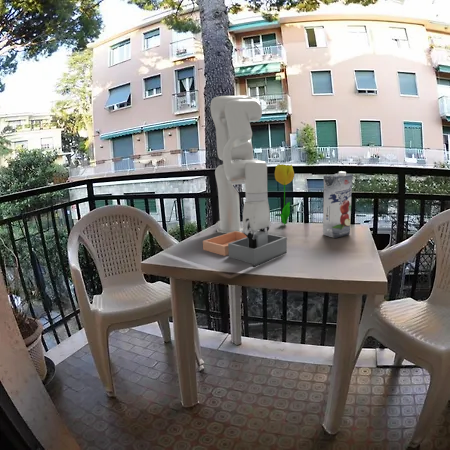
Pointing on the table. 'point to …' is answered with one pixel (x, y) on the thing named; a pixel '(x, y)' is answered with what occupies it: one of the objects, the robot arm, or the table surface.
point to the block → (260, 238)
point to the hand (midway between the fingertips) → (257, 246)
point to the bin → (258, 250)
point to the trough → (222, 242)
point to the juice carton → (337, 204)
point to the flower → (284, 176)
